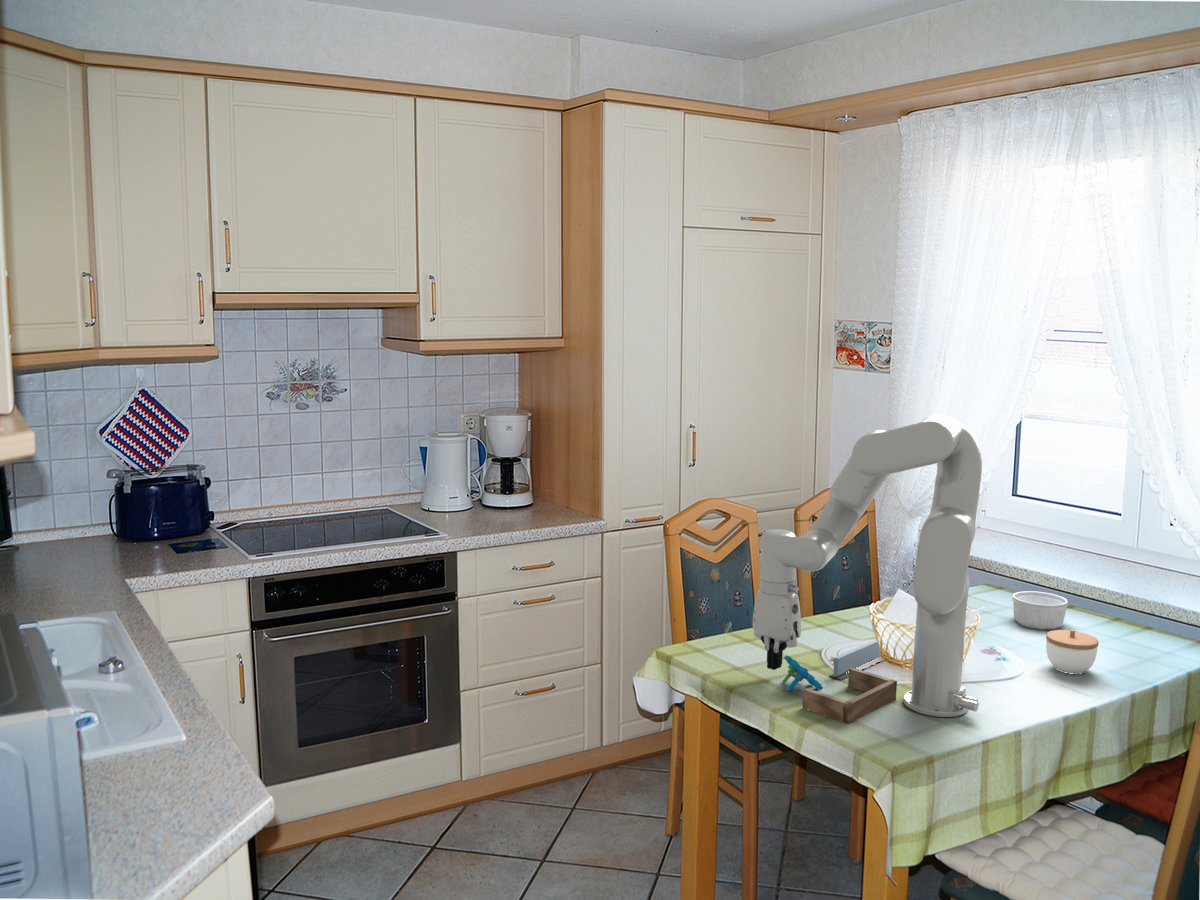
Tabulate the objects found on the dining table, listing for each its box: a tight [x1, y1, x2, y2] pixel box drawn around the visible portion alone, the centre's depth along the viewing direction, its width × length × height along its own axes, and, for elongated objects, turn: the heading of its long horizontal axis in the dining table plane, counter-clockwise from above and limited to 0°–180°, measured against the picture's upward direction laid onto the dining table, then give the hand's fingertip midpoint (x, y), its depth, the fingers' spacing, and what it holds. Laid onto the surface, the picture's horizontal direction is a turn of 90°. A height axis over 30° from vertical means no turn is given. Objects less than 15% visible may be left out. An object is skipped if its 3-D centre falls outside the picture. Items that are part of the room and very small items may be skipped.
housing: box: [802, 668, 898, 725], centre depth 217 cm, size 17×38×4 cm, turn 134°
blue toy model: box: [781, 654, 824, 692], centre depth 215 cm, size 11×6×10 cm
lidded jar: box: [1045, 629, 1099, 674], centre depth 228 cm, size 11×11×9 cm
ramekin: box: [1011, 590, 1069, 630], centre depth 262 cm, size 13×13×7 cm
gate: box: [832, 638, 881, 676], centre depth 228 cm, size 1×18×4 cm, turn 135°
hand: (774, 667), depth 221 cm, fingers closed
